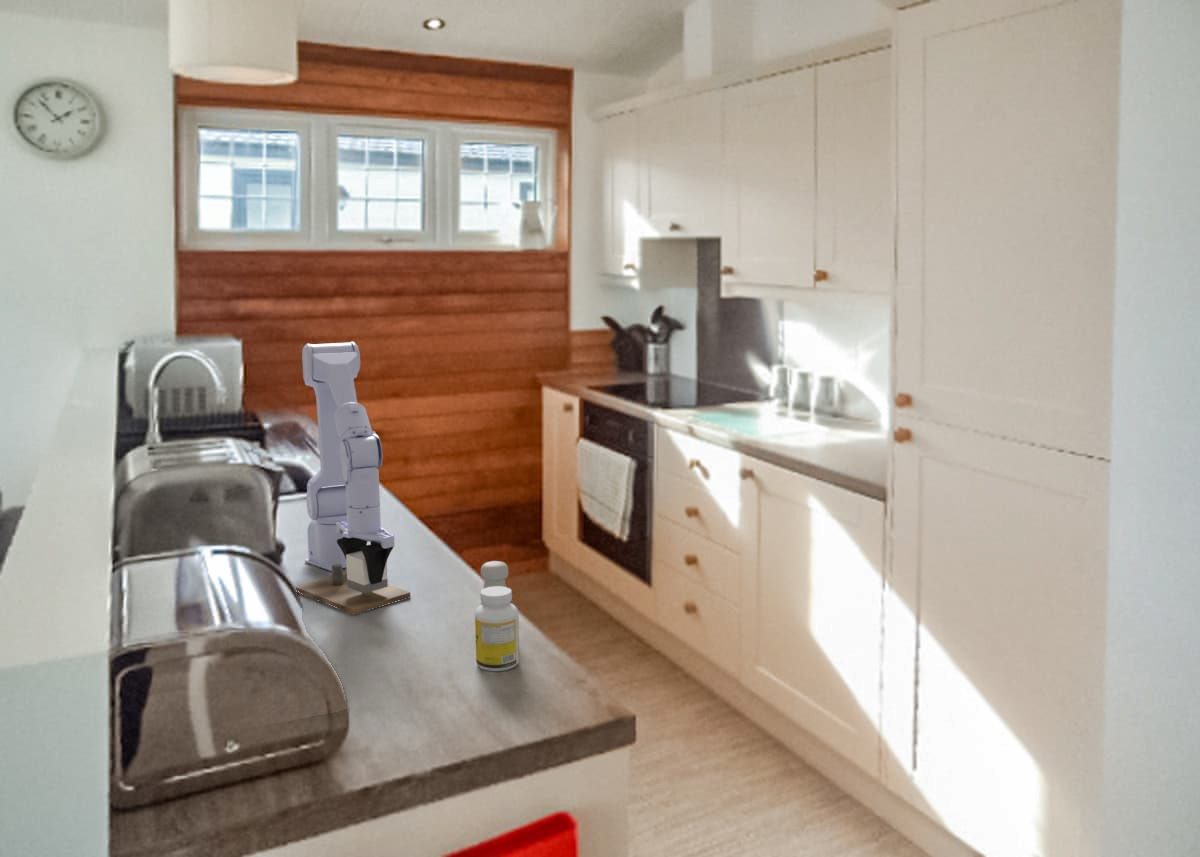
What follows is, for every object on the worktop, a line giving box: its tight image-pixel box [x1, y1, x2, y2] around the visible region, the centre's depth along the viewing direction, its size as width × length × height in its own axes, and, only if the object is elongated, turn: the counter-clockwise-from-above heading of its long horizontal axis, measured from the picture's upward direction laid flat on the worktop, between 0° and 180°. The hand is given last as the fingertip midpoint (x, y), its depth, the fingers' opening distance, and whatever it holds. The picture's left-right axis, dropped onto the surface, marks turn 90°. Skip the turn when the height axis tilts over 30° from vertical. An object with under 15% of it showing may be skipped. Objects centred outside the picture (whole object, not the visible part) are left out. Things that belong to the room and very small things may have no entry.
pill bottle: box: [474, 586, 520, 672], centre depth 161 cm, size 6×6×12 cm
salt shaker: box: [480, 560, 509, 605], centre depth 170 cm, size 6×6×13 cm
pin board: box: [295, 564, 411, 616], centre depth 193 cm, size 18×12×4 cm, turn 48°
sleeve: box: [346, 551, 389, 593], centre depth 189 cm, size 5×5×6 cm
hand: (366, 579), depth 190 cm, fingers closed on sleeve, 5 cm apart
